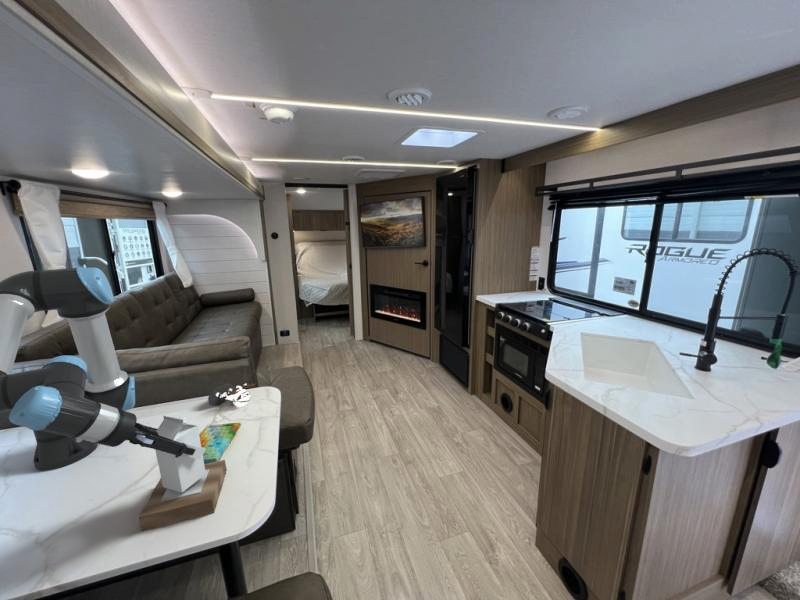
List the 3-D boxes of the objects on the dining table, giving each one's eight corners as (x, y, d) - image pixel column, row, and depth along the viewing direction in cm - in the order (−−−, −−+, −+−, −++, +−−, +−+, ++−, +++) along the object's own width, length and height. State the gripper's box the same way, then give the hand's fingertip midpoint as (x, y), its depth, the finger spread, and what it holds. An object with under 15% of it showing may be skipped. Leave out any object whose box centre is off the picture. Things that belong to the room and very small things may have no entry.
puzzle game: (175, 459, 98) (206, 423, 118) (177, 473, 99) (208, 434, 119) (215, 455, 100) (240, 420, 119) (217, 469, 100) (241, 431, 120)
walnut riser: (166, 484, 94) (163, 471, 94) (226, 471, 99) (224, 458, 98) (141, 530, 79) (137, 516, 78) (214, 512, 84) (211, 498, 83)
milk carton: (182, 493, 84) (169, 427, 80) (162, 487, 86) (149, 422, 82) (206, 474, 90) (195, 412, 87) (187, 469, 92) (176, 408, 89)
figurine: (230, 379, 149) (258, 378, 142) (234, 399, 150) (262, 399, 142) (201, 391, 137) (230, 390, 129) (206, 413, 137) (235, 413, 130)
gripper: (78, 429, 77) (166, 450, 93) (113, 458, 66) (205, 476, 82) (102, 398, 80) (183, 424, 97) (139, 421, 69) (223, 446, 86)
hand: (193, 448), depth 89 cm, fingers closed on milk carton, 8 cm apart
